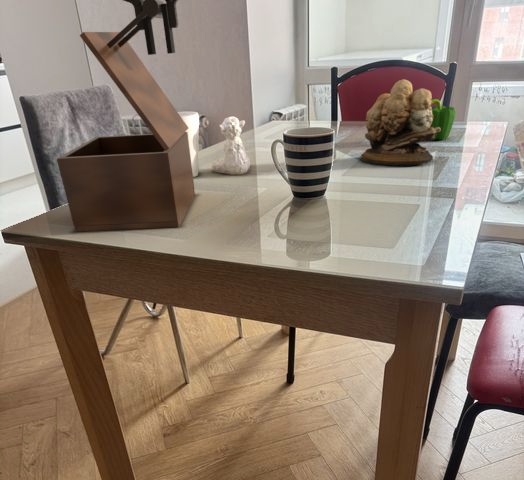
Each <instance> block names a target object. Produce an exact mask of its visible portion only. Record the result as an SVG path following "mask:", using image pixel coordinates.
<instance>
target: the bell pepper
mask: <svg viewBox="0 0 524 480" xmlns="http://www.w3.org/2000/svg"><path fill="white" fill-rule="evenodd" d="M431 101H432V103H431V108H432V114H433V120H432V124H431V126H430V127H433V128H436V127H440V128H441V131H440V132H439V133H437V134H436V135H435V138H434V139H433V140H432V141H436V140H437V141H441V140H443V141H444V140H447V139H448V137H449V136H450V134H451V131H452V128H453V125H454V122H455V118H456V109H455V107H453V106H444V105H442V104H441V103H442V102H441V100H439V99H433V98H432V99H431ZM433 104H436V106H433Z"/></svg>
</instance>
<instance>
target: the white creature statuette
mask: <svg viewBox="0 0 524 480" xmlns="http://www.w3.org/2000/svg"><path fill="white" fill-rule="evenodd" d="M245 124H246V121H245V120H244V119H243V120H239V118H238V117H236V116H233V115H232V116H228V117H225V118H224V120H223V122H222V123H221V124H219V125H218V126H219V128H220V130H221V134H222V135H223V136H224V138H226V139H225V143H224V146H223V152H224V159H217V160H215V161H214V162H213V163H212V165H211V168H212V170H213V171H214V172H215V173H220V174H226V175H231V176H234V175H243V174H245V173H247V172H248V170H249V168H250V166H251V160H250V158H249V157H248V155H247V153H246V146H245V144H244V141H242V139H241V137H240V136H241V133H242V131H243V130H242V128H243V127H244V126H245Z"/></svg>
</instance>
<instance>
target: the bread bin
mask: <svg viewBox="0 0 524 480" xmlns="http://www.w3.org/2000/svg"><path fill="white" fill-rule="evenodd" d="M56 162H57V166H58V171H59V174H60V177H61V178H60V179H61V181H62V186H63V190H64V192H65V197H66V201H67V205H68V209H69V212H70V216H71V220H72V224H73V228H74V232H75V233H76V232H77V233H78V232H98V231H99V232H100V231H101V232H102V231H120V230H123V231H124V230H142V229H167V228H179V227H180V225H181V224H182V221H183V219H184V218H185V216H186V214H187V211H188V210H189V209H190V206H191V204H192V202H193V200H194V198H195V197H196V191H195V181H194V177H193V173H192V165H191V157H190V149H189V141H188V133H187V132H184V133H183V135H182V136H181V137H180V138H179V139H178V140H177V141H176V142H175V143H174V144H173V145H172V146H171V147H170V148H169V149H168V150H167V151H165V150H164V148H163V147H162V146H161V144H160V143H159V142H158V140H157V139H156V138H155V136H154V135H153V134H152V133H141V134H126V135H125V134H124V135H106V136H94V137H93V138H91V139H89V140H87V141H85V142H84V143H82V144H80V145H78V146H77V147H75V148H73V149H72V150H69V151H68V152H66V153H65V154H63V155H61V156H59V157H57V158H56Z"/></svg>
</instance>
